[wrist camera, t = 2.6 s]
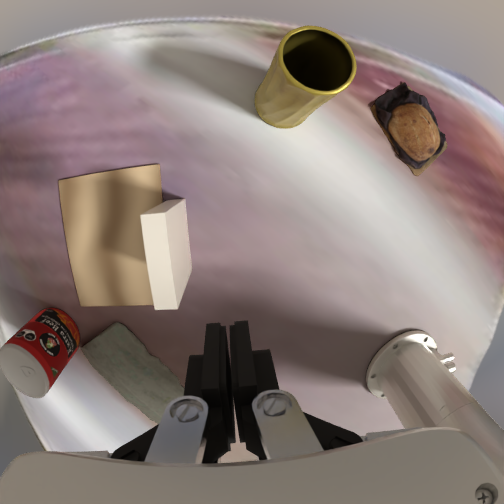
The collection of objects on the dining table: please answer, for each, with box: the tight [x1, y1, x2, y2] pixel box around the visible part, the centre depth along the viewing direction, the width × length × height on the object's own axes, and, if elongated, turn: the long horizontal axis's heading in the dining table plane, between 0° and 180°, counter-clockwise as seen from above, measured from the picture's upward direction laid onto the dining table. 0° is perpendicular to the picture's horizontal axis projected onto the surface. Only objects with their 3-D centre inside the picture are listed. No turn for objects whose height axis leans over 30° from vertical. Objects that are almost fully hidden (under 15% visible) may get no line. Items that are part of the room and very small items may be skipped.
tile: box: [140, 199, 192, 310], centre depth 28 cm, size 2×8×10 cm, turn 3°
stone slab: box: [81, 322, 185, 424], centre depth 38 cm, size 22×3×10 cm
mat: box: [59, 164, 163, 306], centre depth 32 cm, size 13×16×1 cm
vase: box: [255, 26, 356, 128], centre depth 22 cm, size 6×6×14 cm
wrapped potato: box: [371, 82, 447, 176], centre depth 29 cm, size 11×8×4 cm
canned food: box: [0, 308, 80, 398], centre depth 30 cm, size 8×8×11 cm
